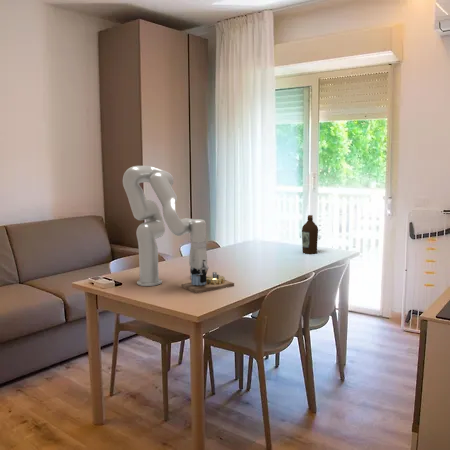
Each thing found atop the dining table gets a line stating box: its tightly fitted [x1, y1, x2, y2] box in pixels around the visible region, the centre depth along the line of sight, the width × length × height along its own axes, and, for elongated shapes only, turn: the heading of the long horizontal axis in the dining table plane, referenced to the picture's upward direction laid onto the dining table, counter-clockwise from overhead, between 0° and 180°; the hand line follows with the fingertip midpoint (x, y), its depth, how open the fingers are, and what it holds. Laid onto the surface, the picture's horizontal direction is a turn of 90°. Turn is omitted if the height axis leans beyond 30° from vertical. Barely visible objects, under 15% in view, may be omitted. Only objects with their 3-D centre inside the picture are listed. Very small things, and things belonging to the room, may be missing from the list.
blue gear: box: [190, 274, 206, 286], centre depth 238 cm, size 7×7×4 cm
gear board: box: [181, 275, 235, 294], centre depth 241 cm, size 14×22×6 cm, turn 124°
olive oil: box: [301, 214, 319, 255], centre depth 321 cm, size 11×11×25 cm
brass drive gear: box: [206, 271, 226, 285], centre depth 243 cm, size 10×10×5 cm
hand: (199, 280), depth 239 cm, fingers closed on blue gear, 7 cm apart
